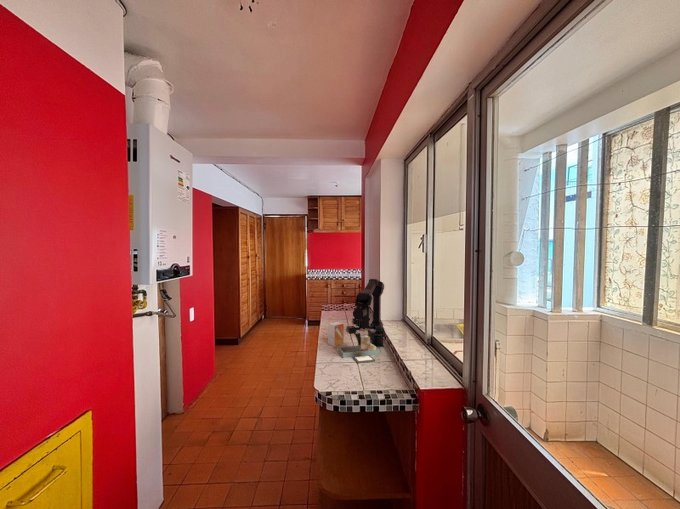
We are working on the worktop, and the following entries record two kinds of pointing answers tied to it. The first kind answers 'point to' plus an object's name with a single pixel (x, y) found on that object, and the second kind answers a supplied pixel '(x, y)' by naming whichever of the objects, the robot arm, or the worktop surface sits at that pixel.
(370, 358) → the pad
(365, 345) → the walnut block
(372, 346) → the maple box
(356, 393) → the worktop surface
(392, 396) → the worktop surface
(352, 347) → the parts bin
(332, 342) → the small box
